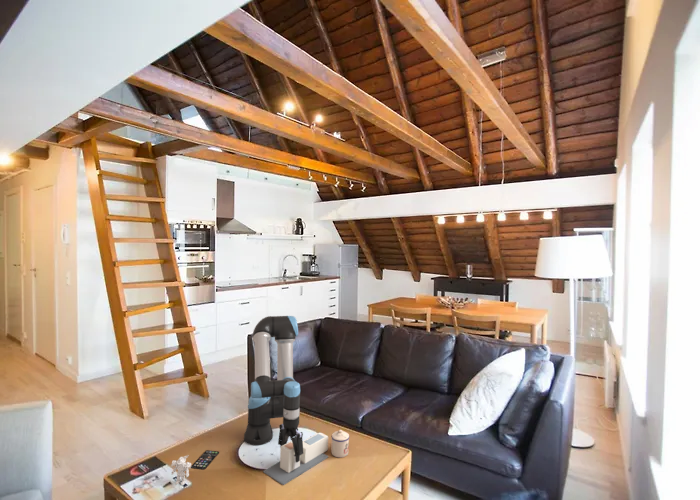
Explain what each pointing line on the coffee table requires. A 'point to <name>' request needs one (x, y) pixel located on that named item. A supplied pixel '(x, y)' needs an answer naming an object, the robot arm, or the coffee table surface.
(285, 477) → the mat
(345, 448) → the teacup with lid
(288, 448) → the box with pink panel
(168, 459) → the coffee table surface
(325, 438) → the cream long box
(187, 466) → the hat wearing toy figure
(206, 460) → the smartphone
